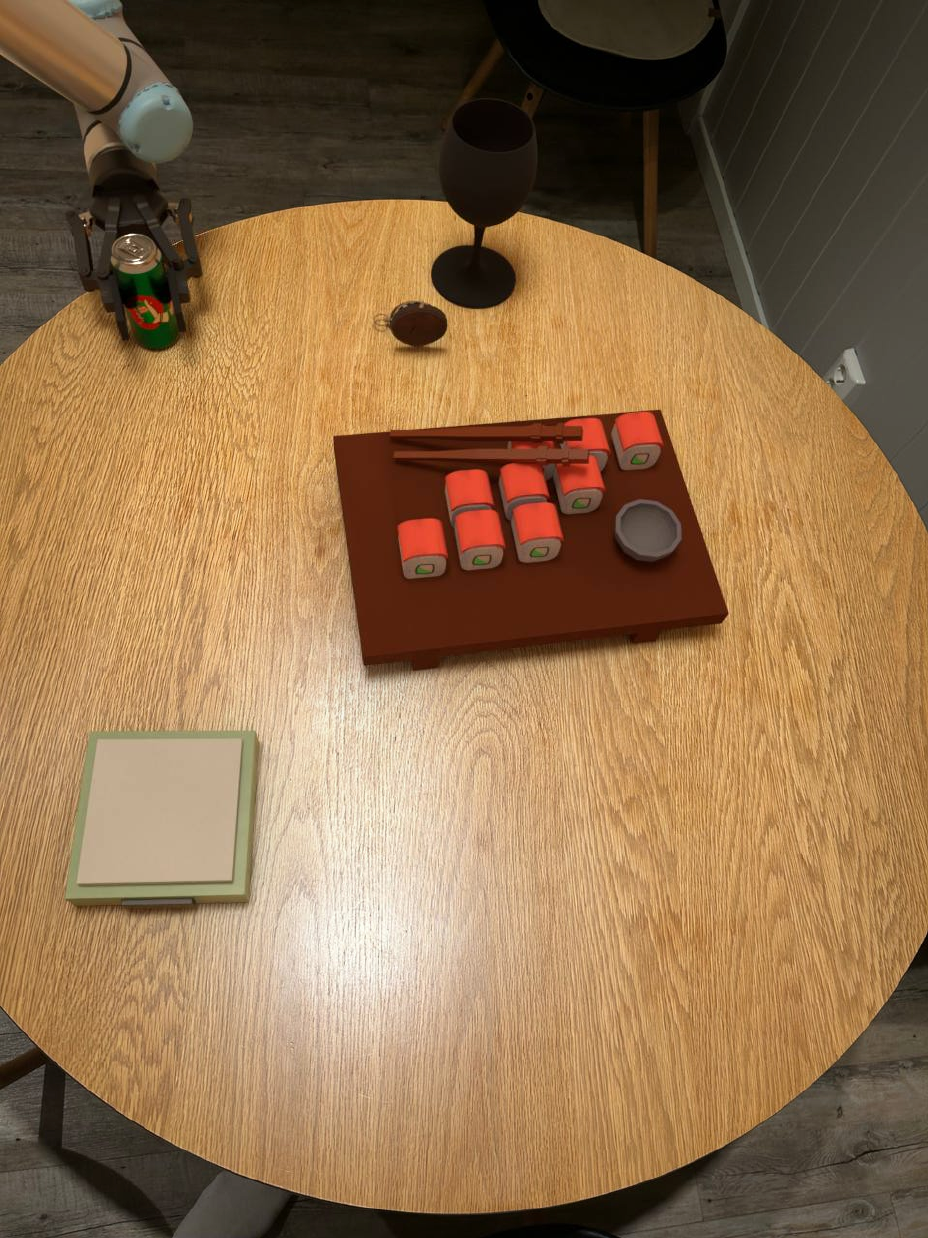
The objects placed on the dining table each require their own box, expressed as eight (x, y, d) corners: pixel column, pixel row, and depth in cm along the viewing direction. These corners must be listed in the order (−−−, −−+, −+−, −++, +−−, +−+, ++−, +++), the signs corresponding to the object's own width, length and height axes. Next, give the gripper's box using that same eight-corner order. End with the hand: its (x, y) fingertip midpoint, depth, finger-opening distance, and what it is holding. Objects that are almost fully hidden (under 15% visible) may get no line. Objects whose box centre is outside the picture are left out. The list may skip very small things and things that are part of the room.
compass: (440, 305, 111) (444, 256, 104) (444, 357, 107) (449, 309, 101) (372, 304, 110) (372, 255, 103) (374, 356, 106) (374, 308, 100)
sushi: (334, 462, 99) (330, 385, 88) (649, 435, 104) (681, 360, 94) (363, 677, 88) (363, 618, 77) (713, 634, 94) (757, 574, 83)
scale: (73, 912, 76) (60, 903, 73) (98, 743, 83) (86, 727, 79) (248, 908, 78) (243, 899, 74) (259, 742, 84) (254, 727, 81)
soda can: (154, 311, 106) (130, 223, 96) (190, 331, 105) (170, 244, 95) (124, 338, 104) (96, 251, 93) (160, 358, 103) (137, 273, 93)
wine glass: (412, 270, 113) (421, 116, 95) (476, 234, 117) (495, 79, 99) (470, 322, 110) (490, 172, 92) (533, 283, 114) (564, 133, 96)
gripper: (209, 194, 112) (244, 339, 102) (49, 213, 108) (70, 365, 98) (199, 137, 105) (236, 286, 95) (28, 154, 101) (49, 311, 91)
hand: (152, 325), depth 97 cm, fingers closed on soda can, 5 cm apart
